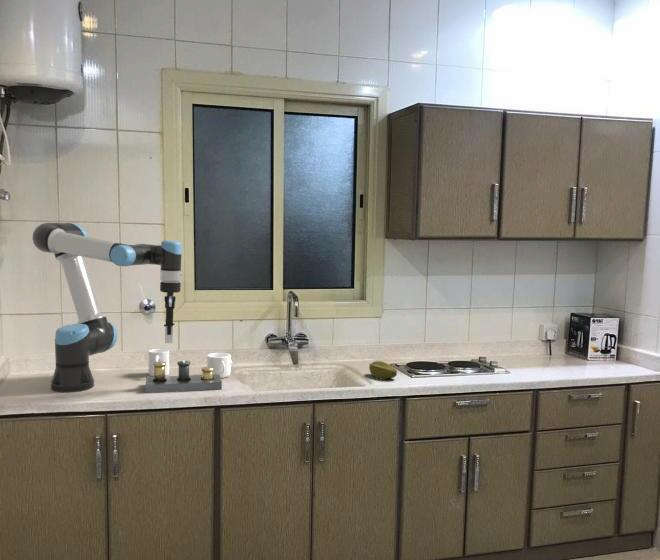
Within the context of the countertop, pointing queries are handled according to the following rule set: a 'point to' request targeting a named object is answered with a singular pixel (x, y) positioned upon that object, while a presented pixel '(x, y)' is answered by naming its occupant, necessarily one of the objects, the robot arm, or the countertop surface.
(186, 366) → the knob mid
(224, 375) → the mug
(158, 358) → the mug
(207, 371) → the knob far
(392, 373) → the fruit
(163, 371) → the knob near
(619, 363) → the countertop surface
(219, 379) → the mount plate
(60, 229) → the robot arm
